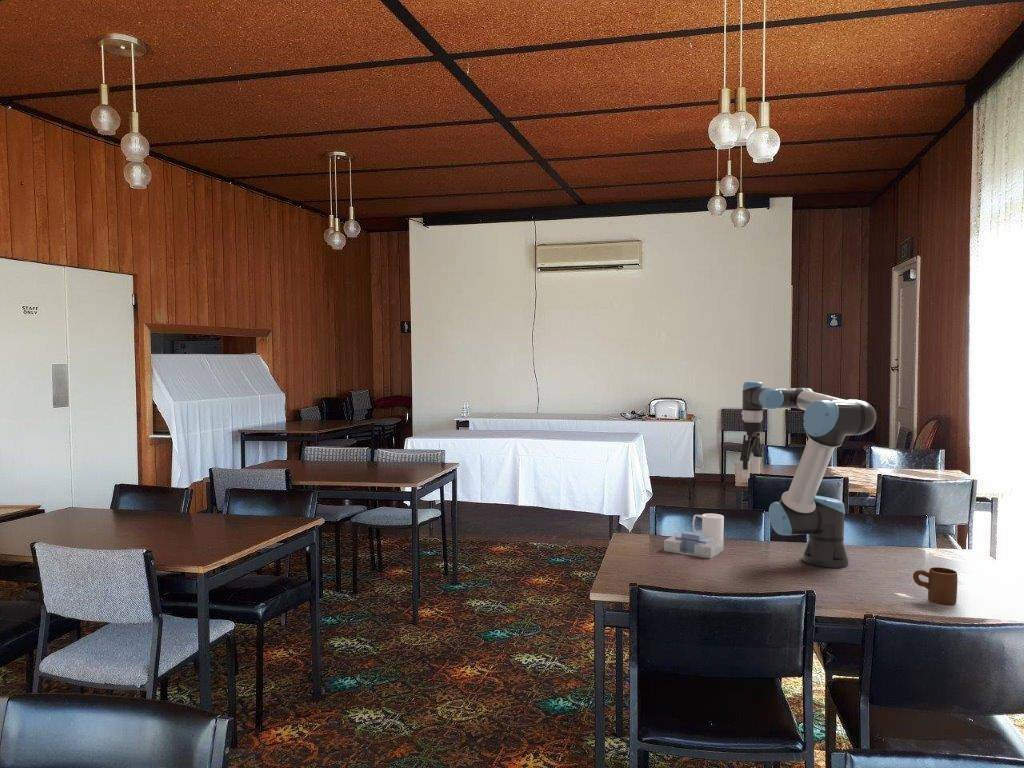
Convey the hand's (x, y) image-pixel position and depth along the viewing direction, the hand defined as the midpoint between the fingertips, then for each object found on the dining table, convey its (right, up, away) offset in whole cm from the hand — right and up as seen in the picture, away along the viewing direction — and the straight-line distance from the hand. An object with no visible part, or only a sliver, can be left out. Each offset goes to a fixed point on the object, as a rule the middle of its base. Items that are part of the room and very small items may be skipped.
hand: (750, 475), depth 292 cm
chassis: (-25, -27, -10) cm, 38 cm away
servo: (-25, -27, -10) cm, 38 cm away
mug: (+35, -30, -65) cm, 79 cm away
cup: (-15, -27, +5) cm, 31 cm away
